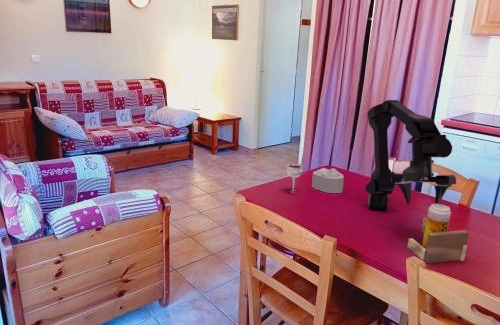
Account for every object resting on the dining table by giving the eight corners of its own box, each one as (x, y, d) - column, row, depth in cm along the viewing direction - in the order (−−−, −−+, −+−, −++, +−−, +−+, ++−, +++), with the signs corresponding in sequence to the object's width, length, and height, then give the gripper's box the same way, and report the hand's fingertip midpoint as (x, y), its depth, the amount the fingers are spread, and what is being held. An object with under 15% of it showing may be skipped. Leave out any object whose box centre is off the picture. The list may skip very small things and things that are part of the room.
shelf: (391, 233, 130) (395, 209, 127) (424, 230, 132) (428, 207, 130) (427, 264, 112) (432, 236, 109) (464, 260, 115) (470, 233, 112)
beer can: (433, 258, 115) (442, 212, 111) (417, 248, 121) (424, 205, 116) (447, 254, 118) (456, 209, 113) (430, 244, 123) (438, 201, 118)
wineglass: (282, 190, 165) (283, 164, 161) (295, 188, 168) (297, 162, 164) (290, 196, 159) (292, 168, 156) (304, 194, 162) (306, 167, 158)
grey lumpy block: (321, 182, 176) (323, 164, 173) (347, 190, 168) (349, 171, 165) (308, 188, 168) (310, 169, 166) (335, 196, 160) (337, 177, 158)
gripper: (381, 158, 125) (382, 205, 125) (440, 158, 110) (440, 212, 111) (399, 157, 132) (400, 202, 132) (456, 156, 117) (457, 207, 118)
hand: (422, 205), depth 123 cm, fingers open, 9 cm apart
